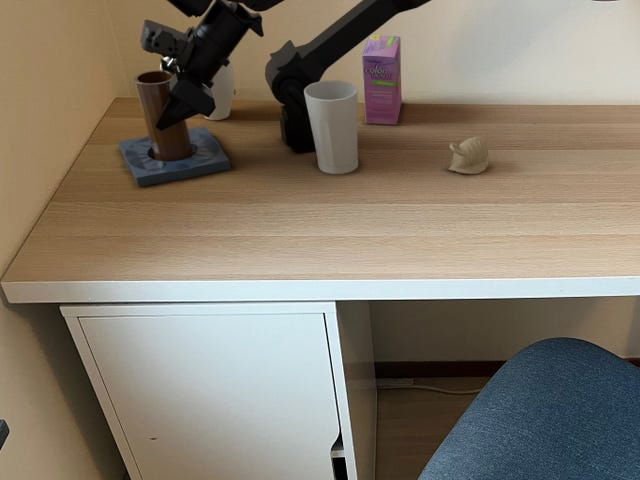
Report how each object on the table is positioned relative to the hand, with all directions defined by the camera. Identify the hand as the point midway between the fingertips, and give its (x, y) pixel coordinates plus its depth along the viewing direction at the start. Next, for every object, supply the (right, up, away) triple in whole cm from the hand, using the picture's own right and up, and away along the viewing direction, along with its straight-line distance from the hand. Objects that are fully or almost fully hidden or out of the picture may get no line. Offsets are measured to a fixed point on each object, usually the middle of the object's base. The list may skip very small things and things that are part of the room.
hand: (156, 120), depth 119 cm
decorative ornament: (+48, -6, +6) cm, 49 cm away
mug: (+1, +7, +18) cm, 19 cm away
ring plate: (+1, -5, +5) cm, 7 cm away
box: (+33, +9, +21) cm, 40 cm away
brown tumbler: (+1, -5, +5) cm, 7 cm away
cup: (+27, -5, +6) cm, 28 cm away
